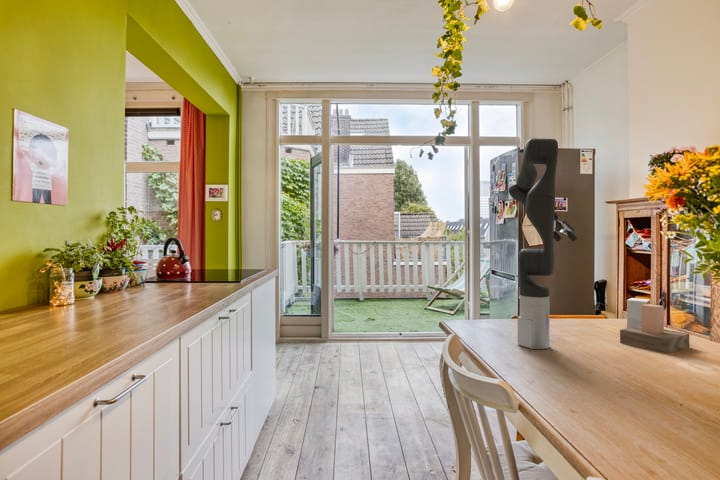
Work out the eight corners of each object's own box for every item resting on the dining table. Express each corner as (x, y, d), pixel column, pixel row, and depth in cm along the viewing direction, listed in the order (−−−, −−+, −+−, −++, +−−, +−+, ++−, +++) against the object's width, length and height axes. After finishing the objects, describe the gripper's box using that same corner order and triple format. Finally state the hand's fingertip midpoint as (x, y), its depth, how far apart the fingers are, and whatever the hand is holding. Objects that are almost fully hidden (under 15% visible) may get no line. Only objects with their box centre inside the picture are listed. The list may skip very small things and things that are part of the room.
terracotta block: (656, 333, 122) (656, 307, 122) (641, 330, 126) (641, 304, 126) (663, 332, 124) (663, 306, 124) (648, 329, 128) (648, 304, 128)
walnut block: (668, 355, 115) (668, 339, 115) (620, 344, 128) (620, 329, 128) (689, 348, 122) (689, 333, 122) (641, 338, 134) (641, 325, 134)
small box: (647, 336, 135) (647, 301, 135) (626, 333, 140) (626, 299, 140) (651, 333, 141) (650, 299, 141) (630, 330, 145) (630, 297, 145)
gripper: (535, 205, 148) (560, 233, 137) (561, 206, 153) (587, 233, 142) (525, 219, 153) (548, 247, 142) (550, 219, 158) (574, 246, 147)
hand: (567, 240), depth 142 cm, fingers open, 8 cm apart
